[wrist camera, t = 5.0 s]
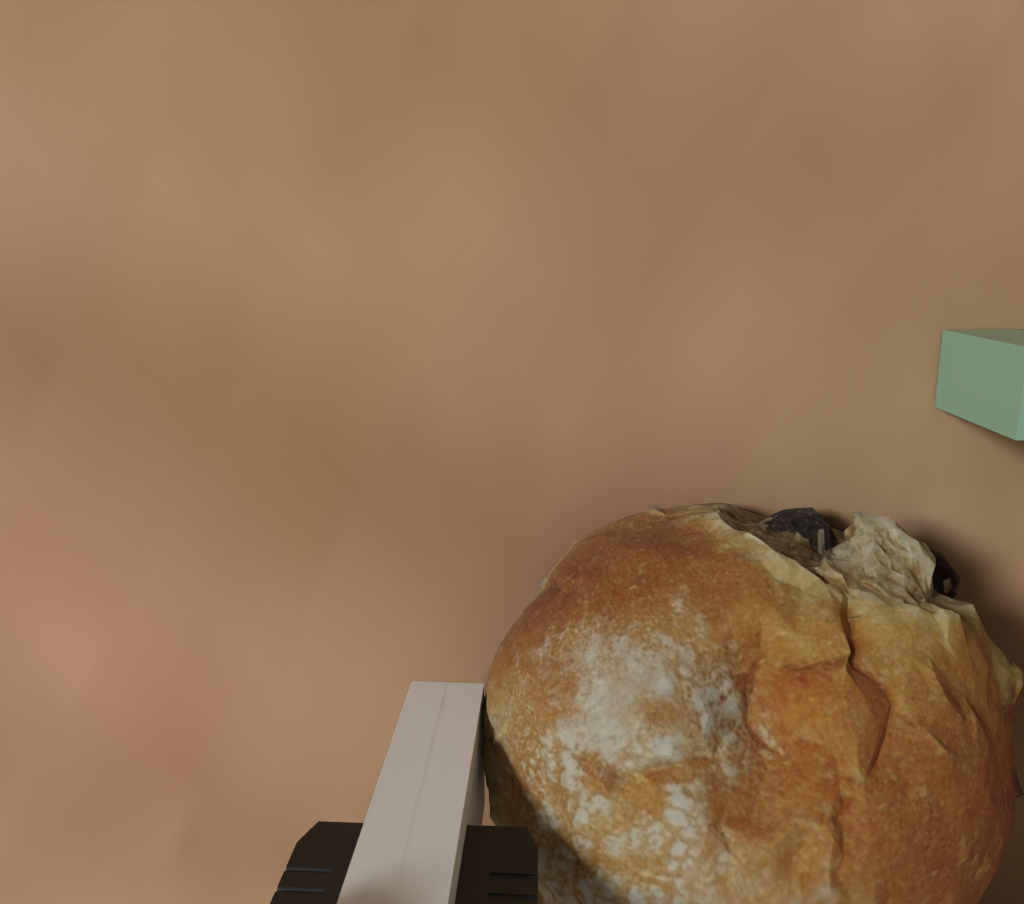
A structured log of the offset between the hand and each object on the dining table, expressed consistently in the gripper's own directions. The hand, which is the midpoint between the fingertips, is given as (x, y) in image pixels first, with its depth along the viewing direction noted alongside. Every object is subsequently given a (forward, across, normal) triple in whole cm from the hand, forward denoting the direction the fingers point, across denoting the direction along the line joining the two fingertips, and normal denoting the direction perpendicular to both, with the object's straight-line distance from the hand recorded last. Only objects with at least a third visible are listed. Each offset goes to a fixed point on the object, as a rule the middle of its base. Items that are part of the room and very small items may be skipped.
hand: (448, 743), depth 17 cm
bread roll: (+2, +6, 0) cm, 6 cm away
